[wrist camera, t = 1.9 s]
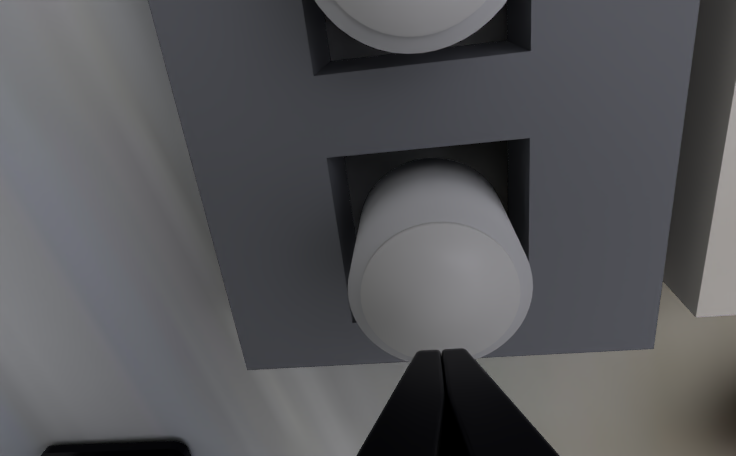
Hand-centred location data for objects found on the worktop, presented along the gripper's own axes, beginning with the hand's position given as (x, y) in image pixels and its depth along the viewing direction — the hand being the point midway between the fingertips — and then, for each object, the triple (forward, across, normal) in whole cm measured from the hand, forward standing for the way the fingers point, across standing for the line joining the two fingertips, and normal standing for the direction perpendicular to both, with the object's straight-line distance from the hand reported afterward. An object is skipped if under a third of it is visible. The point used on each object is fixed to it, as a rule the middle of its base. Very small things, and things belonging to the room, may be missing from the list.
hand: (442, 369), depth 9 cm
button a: (+6, 0, 0) cm, 6 cm away
